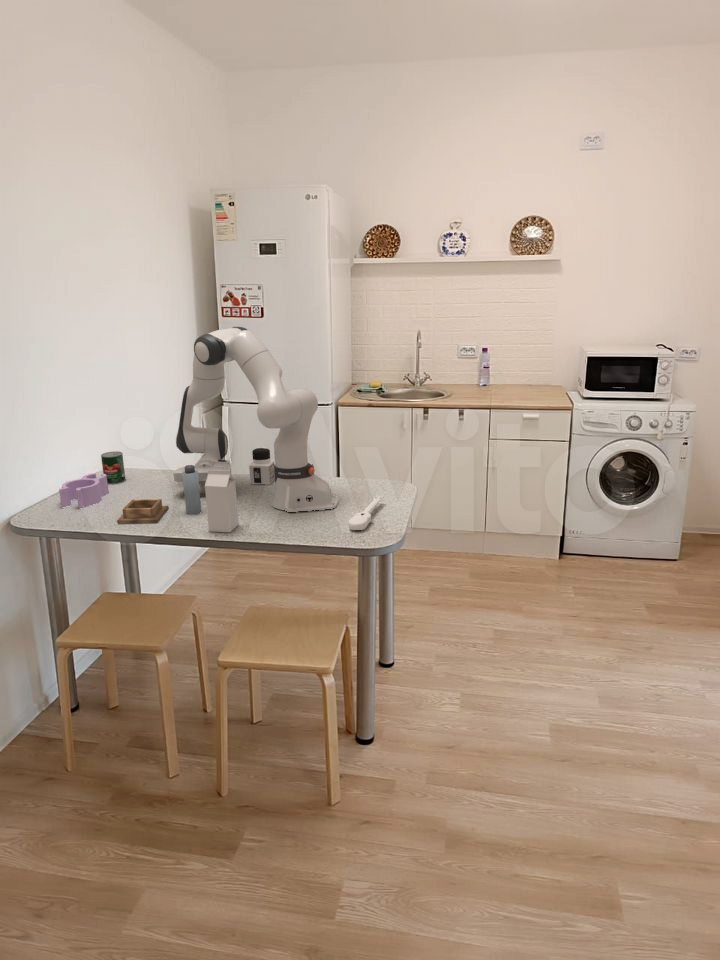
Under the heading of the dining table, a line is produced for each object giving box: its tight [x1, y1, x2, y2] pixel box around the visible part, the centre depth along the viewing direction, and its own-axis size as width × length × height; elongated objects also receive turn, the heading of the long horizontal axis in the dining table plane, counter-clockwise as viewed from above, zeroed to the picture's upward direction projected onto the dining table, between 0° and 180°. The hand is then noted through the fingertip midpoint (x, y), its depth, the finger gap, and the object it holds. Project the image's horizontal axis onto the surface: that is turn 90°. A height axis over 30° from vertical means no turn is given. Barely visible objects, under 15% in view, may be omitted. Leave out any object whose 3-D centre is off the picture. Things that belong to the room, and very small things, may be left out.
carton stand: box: [116, 498, 170, 525], centre depth 236 cm, size 13×14×4 cm
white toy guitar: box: [348, 495, 384, 531], centre depth 230 cm, size 28×6×3 cm, turn 162°
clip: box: [58, 473, 110, 509], centre depth 255 cm, size 20×12×7 cm, turn 169°
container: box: [248, 447, 275, 486], centre depth 269 cm, size 8×8×13 cm
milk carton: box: [204, 470, 239, 533], centre depth 221 cm, size 7×7×19 cm
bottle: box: [182, 464, 202, 515], centre depth 237 cm, size 5×5×16 cm
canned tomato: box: [100, 451, 126, 485], centre depth 275 cm, size 8×8×11 cm
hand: (198, 480), depth 247 cm, fingers open, 8 cm apart
